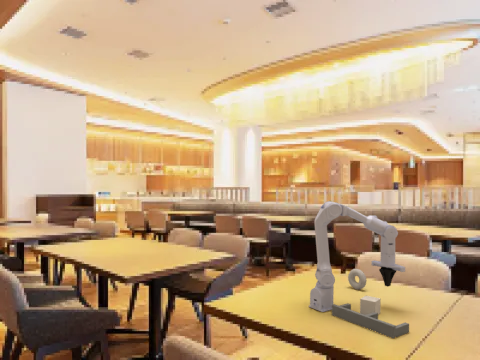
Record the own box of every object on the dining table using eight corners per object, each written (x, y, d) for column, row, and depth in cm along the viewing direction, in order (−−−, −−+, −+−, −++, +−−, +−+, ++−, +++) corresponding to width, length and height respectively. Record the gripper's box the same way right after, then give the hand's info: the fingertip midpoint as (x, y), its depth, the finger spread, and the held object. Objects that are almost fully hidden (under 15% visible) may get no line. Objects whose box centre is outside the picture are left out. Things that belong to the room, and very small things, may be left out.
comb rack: (393, 338, 126) (393, 326, 126) (331, 315, 148) (332, 304, 148) (409, 332, 132) (409, 320, 132) (347, 310, 153) (347, 300, 153)
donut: (368, 291, 182) (368, 270, 182) (363, 292, 180) (363, 271, 180) (350, 286, 190) (351, 266, 190) (346, 287, 188) (346, 267, 188)
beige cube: (360, 314, 150) (360, 298, 150) (365, 310, 155) (365, 295, 155) (375, 317, 146) (375, 301, 146) (380, 313, 151) (380, 298, 151)
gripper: (409, 255, 153) (409, 288, 153) (378, 249, 165) (378, 280, 165) (399, 256, 149) (399, 291, 149) (368, 251, 161) (368, 283, 161)
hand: (387, 285), depth 157 cm, fingers closed
